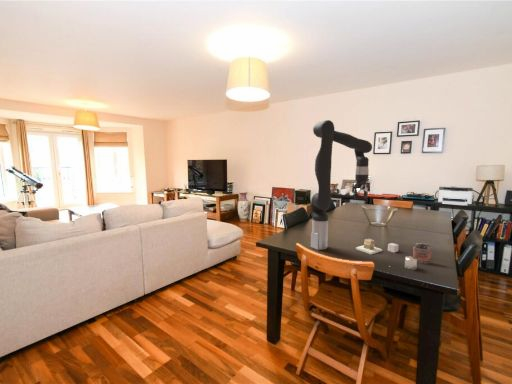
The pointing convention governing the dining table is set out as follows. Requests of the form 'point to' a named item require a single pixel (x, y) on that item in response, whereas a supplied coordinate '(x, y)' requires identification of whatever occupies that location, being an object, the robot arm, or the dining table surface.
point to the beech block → (369, 244)
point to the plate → (369, 250)
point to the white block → (393, 247)
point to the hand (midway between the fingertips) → (360, 199)
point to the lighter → (422, 253)
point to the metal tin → (410, 263)
